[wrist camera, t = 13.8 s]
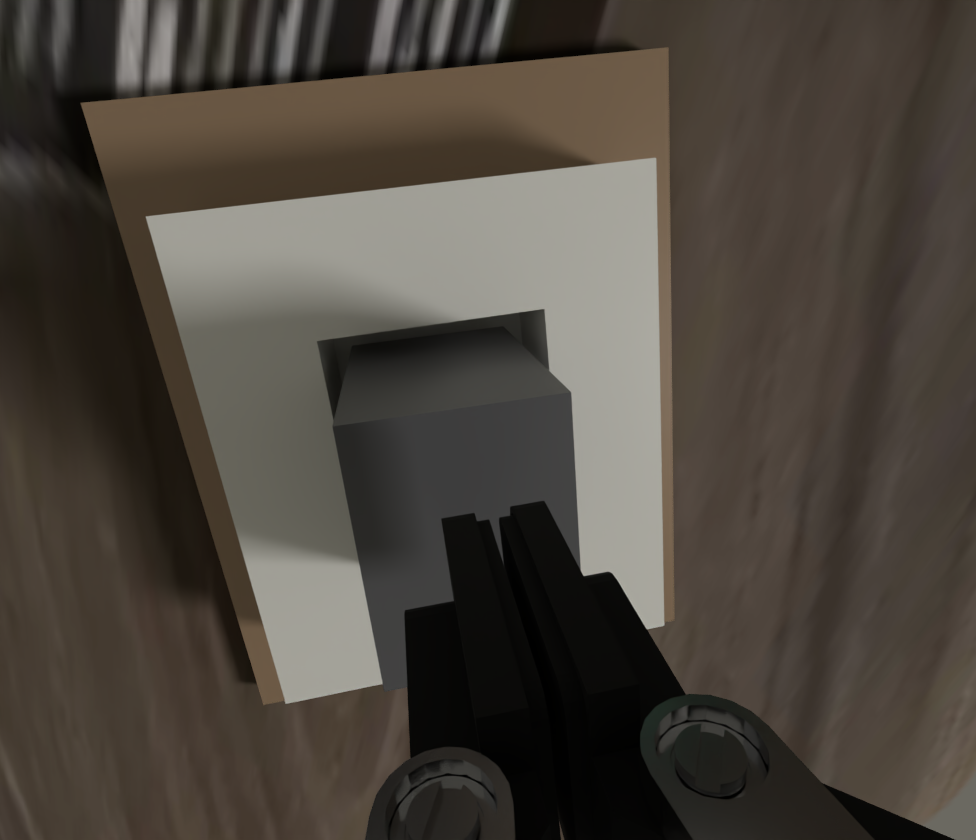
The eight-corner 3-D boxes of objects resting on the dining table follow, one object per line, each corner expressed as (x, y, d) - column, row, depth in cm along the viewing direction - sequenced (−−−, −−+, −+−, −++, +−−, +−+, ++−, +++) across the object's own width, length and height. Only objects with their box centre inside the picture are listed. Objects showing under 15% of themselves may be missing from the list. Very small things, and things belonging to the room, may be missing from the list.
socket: (97, 109, 17) (-21, 67, 12) (654, 56, 18) (750, 0, 14) (268, 685, 23) (238, 809, 19) (663, 605, 25) (730, 698, 20)
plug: (353, 337, 19) (332, 426, 11) (496, 319, 19) (571, 392, 11) (384, 512, 21) (384, 691, 13) (512, 491, 21) (584, 652, 13)
